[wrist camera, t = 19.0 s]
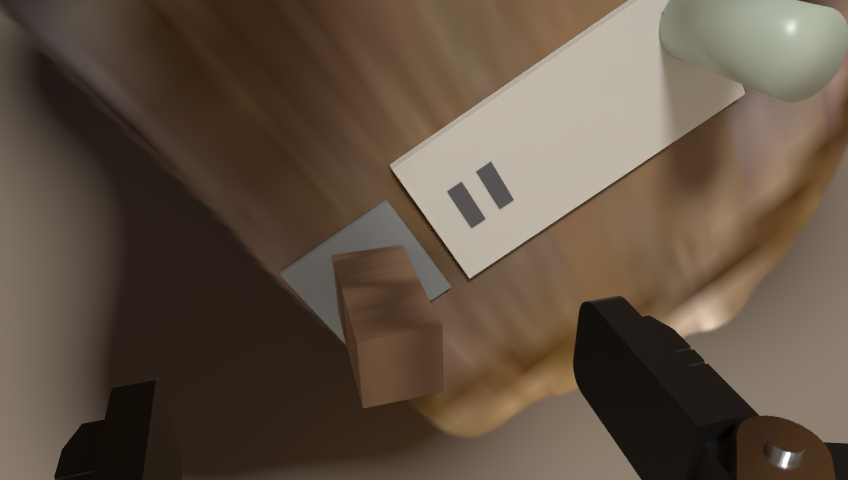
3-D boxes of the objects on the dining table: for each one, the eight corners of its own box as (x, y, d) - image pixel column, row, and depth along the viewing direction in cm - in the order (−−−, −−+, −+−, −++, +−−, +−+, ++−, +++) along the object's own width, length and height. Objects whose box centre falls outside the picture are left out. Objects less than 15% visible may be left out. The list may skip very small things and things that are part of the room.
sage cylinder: (649, 10, 42) (756, 43, 34) (715, -36, 42) (840, -14, 33) (672, 73, 45) (777, 119, 36) (735, 31, 44) (855, 67, 36)
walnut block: (338, 314, 47) (362, 408, 39) (331, 255, 45) (356, 342, 37) (405, 302, 48) (443, 392, 40) (402, 244, 46) (442, 326, 38)
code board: (389, 164, 43) (392, 169, 43) (696, -47, 42) (705, -46, 41) (466, 273, 49) (469, 279, 48) (737, 90, 48) (746, 94, 47)
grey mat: (279, 272, 45) (279, 275, 45) (386, 199, 44) (387, 201, 44) (352, 349, 50) (353, 352, 49) (449, 284, 49) (451, 286, 49)
